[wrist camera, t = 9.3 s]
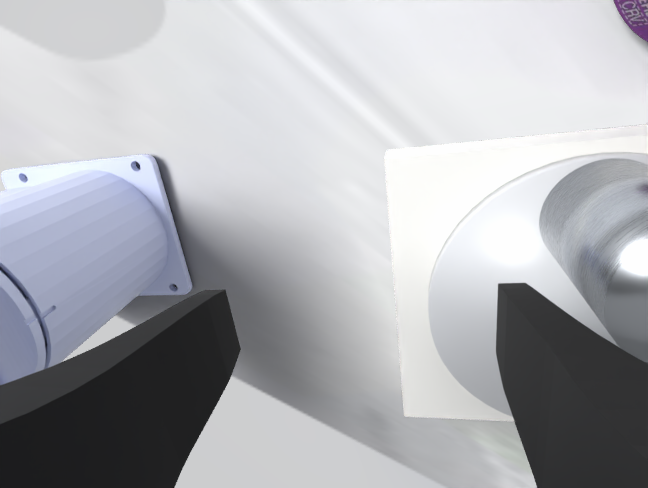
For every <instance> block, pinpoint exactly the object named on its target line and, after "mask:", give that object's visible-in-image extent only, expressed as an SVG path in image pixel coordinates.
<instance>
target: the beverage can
mask: <svg viewBox="0 0 648 488" xmlns="http://www.w3.org/2000/svg"><path fill="white" fill-rule="evenodd" d="M614 3H615V5H616V8H617V10H618V12H619V14H620V15H621V17H622V18H623V20H624V21H625V23H626V24H627V25H628V26H629V27H630V28H631V30H632V31H633V32H635V33H636V34H637V35H638V36H639V37H641V38H642V39H644V40H645V41H647V42H648V0H614Z"/></svg>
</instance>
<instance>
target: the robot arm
mask: <svg viewBox="0 0 648 488" xmlns="http://www.w3.org/2000/svg"><path fill="white" fill-rule="evenodd" d="M136 162H138V163H139V164H140V168H141V169H138V168H137V166H136ZM25 175H26V176H27V178H26V177H25ZM1 179H2V181H3V184H4V186H5V188H6V190H5V191H2V192H0V488H174V487H175V485H176V482H177V480H178V477H179V475H180V473H181V470H182V468H183V466H184V464H185V462H186V460H187V458H188V456H189V454H190V452H191V450H192V448H193V447H194V445H195V443H196V441H197V439H198V437H199V435H200V434H201V432H202V430H203V428H204V426H205V424H206V423H207V421H208V419H209V417H210V415H211V414H212V412H213V410H214V408H215V406H216V405H217V403H218V401H219V399H220V397H221V395H222V393H223V391H224V390H225V388H226V386H227V384H228V382H229V380H230V377H231V375H232V372H233V369H234V367H235V364H236V361H237V358H238V355H239V352H240V350H241V349H240V345H239V342H238V338H237V334H236V330H235V326H234V322H233V318H232V314H231V310H230V306H229V302H228V299H227V295H226V291H225V290H205V291H203V292H200V293H198V294H196V295H193V296H191V297H189V298H187V299H186V300H184V301H182V302H180V303H178V304H176V305H174V306H173V307H171V308H169V309H167V310H165V311H163V312H162V313H160V314H158V315H156V316H154V317H153V318H151V319H149V320H147V321H145V322H144V323H142V324H140V325H138V326H136V327H134V328H132V329H130V330H128V331H127V332H125V333H123V334H121V335H119V336H117V337H115V338H113V339H111V340H109V341H107V342H105V343H103V344H101V345H99V346H97V347H95V348H93V349H91V350H89V351H86V352H85V353H82V354H80V355H78V356H75V357H73V358H71V359H68V360H66V361H64V362H62V361H63V360H64V359H65V358H66V357H67V356H68V355H70V354H71V353H72V352H73V351H74V350H75V349H77V348H78V347H79V346H80V345H81V344H82V343H83V342H84V341H86V340H87V339H88V338H89V337H90V336H92V335H93V334H94V333H95V332H96V331H97V330H98V329H100V328H101V327H102V326H103V325H104V324H105V323H106V322H108V321H109V320H110V319H111V318H112V317H114V316H115V315H116V314H117V313H118V312H119V311H120V310H122V309H123V308H124V307H125V306H126V305H127V304H129V303H130V302H131V301H132V300H133V299H134V298H135V297H137V296H149V295H185V294H188V293H189V292H190V291H191V289H192V282H191V279H190V275H189V272H188V268H187V265H186V262H185V258H184V255H183V251H182V248H181V244H180V241H179V237H178V234H177V230H176V227H175V224H174V220H173V217H172V213H171V210H170V206H169V203H168V199H167V196H166V192H165V189H164V186H163V182H162V179H161V175H160V172H159V168H158V165H157V162H156V160H155V159H154V157H153V156H151V155H149V154H142V155H133V156H124V157H114V158H105V159H96V160H87V161H78V162H69V163H59V164H50V165H41V166H32V167H23V168H14V169H8V170H5V171H3V172H2V173H1ZM173 284H175V285H176V286H177V287H178V288H175V287H174V286H173ZM496 356H497V361H498V366H499V371H500V376H501V380H502V385H503V389H504V392H505V395H506V398H507V401H508V404H509V407H510V410H511V413H512V416H513V419H514V421H515V424H516V427H517V430H518V433H519V436H520V438H521V441H522V444H523V447H524V450H525V453H526V455H527V458H528V461H529V464H530V467H531V470H532V473H533V475H534V478H535V482H536V485H537V488H648V364H647V363H645V362H644V361H642V360H640V359H638V358H637V357H635V356H633V355H631V354H630V353H628V352H626V351H624V350H623V349H621V348H620V347H618V346H616V345H615V344H613V343H611V342H610V341H608V340H607V339H605V338H603V337H602V336H600V335H599V334H597V333H596V332H594V331H593V330H591V329H590V328H588V327H587V326H585V325H584V324H582V323H581V322H579V321H578V320H576V319H575V318H573V317H572V316H571V315H569V314H568V313H566V312H565V311H564V310H562V309H561V308H560V307H558V306H557V305H555V304H554V303H553V302H551V301H550V300H549V299H547V298H546V297H545V296H543V295H542V294H541V293H539V292H538V291H537V290H535V289H534V288H532V287H531V286H530V285H528V284H527V283H498V299H497V329H496Z"/></svg>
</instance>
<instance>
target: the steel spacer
mask: <svg viewBox="0 0 648 488" xmlns="http://www.w3.org/2000/svg"><path fill="white" fill-rule="evenodd" d="M539 229H540V235H541V238H542V240H543V242H544V244H545V246H546V247H547V249H548V250H549V251H550V253H551V254H552V256H553V257H554V258H555V260H556V261H557V262H558V264H559V265H560V267H561V268H562V269H563V271H564V272H565V273H566V275H567V276H568V278H569V279H570V280H571V282H572V283H573V284H574V286H575V287H576V289H577V290H578V291H579V293H580V294H581V295H582V297H583V298H584V300H585V301H586V302H587V304H588V305H589V306H590V308H591V309H592V311H593V312H594V313H595V315H596V316H597V317H598V319H599V320H600V322H601V323H602V324H603V326H604V327H605V329H606V330H607V331H608V333H609V334H610V335H611V337H612V338H613V339H614V341H615V342H616V344H617V345H618V346H619V347H620V348H621V349H623V350H624V351H626V352H628V353H630V354H631V355H633V356H635V357H637V358H638V359H640V360H642V361H644V362H645V363H647V364H648V165H647V164H644V163H642V162H639V161H636V160H631V159H624V158H610V159H603V160H598V161H594V162H591V163H588V164H586V165H583V166H581V167H579V168H577V169H575V170H574V171H572V172H570V173H569V174H567V175H566V176H565V177H564V178H562V179H561V180H560V181H559V182H558V183H557V184H556V185H555V186H554V187H553V189H552V190H551V191H550V192H549V194H548V196H547V197H546V199H545V201H544V203H543V205H542V209H541V212H540V217H539Z"/></svg>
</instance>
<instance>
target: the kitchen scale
mask: <svg viewBox="0 0 648 488" xmlns="http://www.w3.org/2000/svg"><path fill="white" fill-rule="evenodd" d="M610 158H624V159H631V160H636V161H639V162H642V163H644V164H647V165H648V124H645V125H635V126H625V127H614V128H604V129H594V130H584V131H573V132H563V133H553V134H542V135H532V136H522V137H512V138H501V139H491V140H481V141H471V142H460V143H450V144H440V145H430V146H419V147H409V148H399V149H388V150H386V154H385V158H384V163H385V176H386V189H387V202H388V215H389V228H390V241H391V254H392V267H393V280H394V293H395V306H396V319H397V332H398V345H399V358H400V371H401V384H402V397H403V410H404V417H422V418H444V419H465V420H487V421H508V422H515V421H514V419H513V416H512V413H511V410H510V407H509V404H508V401H507V398H506V395H505V392H504V389H503V385H502V380H501V376H500V371H499V366H498V361H497V356H496V329H497V299H498V283H527V284H528V285H530V286H531V287H532V288H534V289H535V290H537V291H538V292H539V293H541V294H542V295H543V296H545V297H546V298H547V299H549V300H550V301H551V302H553V303H554V304H555V305H557V306H558V307H560V308H561V309H562V310H564V311H565V312H566V313H568V314H569V315H571V316H572V317H573V318H575V319H576V320H578V321H579V322H581V323H582V324H584V325H585V326H587V327H588V328H590V329H591V330H593V331H594V332H596V333H597V334H599V335H600V336H602V337H603V338H605V339H607V340H608V341H610V342H611V343H613V344H615V345H616V346H618V345H617V344H616V342H615V341H614V339H613V338H612V337H611V335H610V334H609V333H608V331H607V330H606V329H605V327H604V326H603V324H602V323H601V322H600V320H599V319H598V317H597V316H596V315H595V313H594V312H593V311H592V309H591V308H590V306H589V305H588V304H587V302H586V301H585V300H584V298H583V297H582V295H581V294H580V293H579V291H578V290H577V289H576V287H575V286H574V284H573V283H572V282H571V280H570V279H569V278H568V276H567V275H566V273H565V272H564V271H563V269H562V268H561V267H560V265H559V264H558V262H557V261H556V260H555V258H554V257H553V256H552V254H551V253H550V251H549V250H548V249H547V247H546V246H545V244H544V242H543V240H542V238H541V235H540V229H539V217H540V212H541V209H542V205H543V203H544V201H545V199H546V197H547V196H548V194H549V192H550V191H551V190H552V189H553V187H554V186H555V185H556V184H557V183H558V182H559V181H560V180H561V179H562V178H564V177H565V176H566V175H567V174H569V173H570V172H572V171H574V170H575V169H577V168H579V167H581V166H583V165H586V164H588V163H591V162H594V161H598V160H603V159H610ZM618 347H619V346H618Z"/></svg>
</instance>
